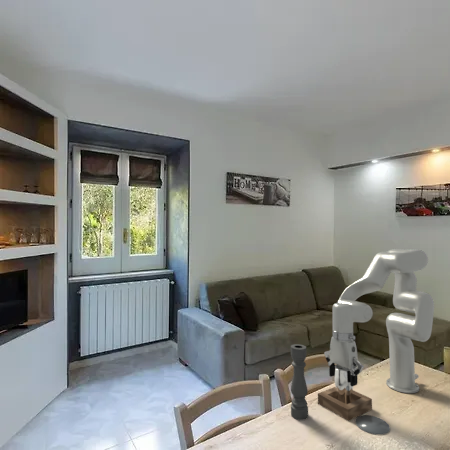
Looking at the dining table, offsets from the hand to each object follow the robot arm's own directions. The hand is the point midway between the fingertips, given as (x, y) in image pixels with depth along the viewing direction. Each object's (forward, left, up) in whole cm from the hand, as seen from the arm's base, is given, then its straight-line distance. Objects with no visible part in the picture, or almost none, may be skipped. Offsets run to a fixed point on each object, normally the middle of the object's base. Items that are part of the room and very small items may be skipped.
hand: (342, 380), depth 124 cm
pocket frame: (-1, 0, -10) cm, 10 cm away
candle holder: (+18, -5, -10) cm, 22 cm away
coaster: (+1, +13, -10) cm, 17 cm away
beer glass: (-1, 0, -10) cm, 10 cm away
